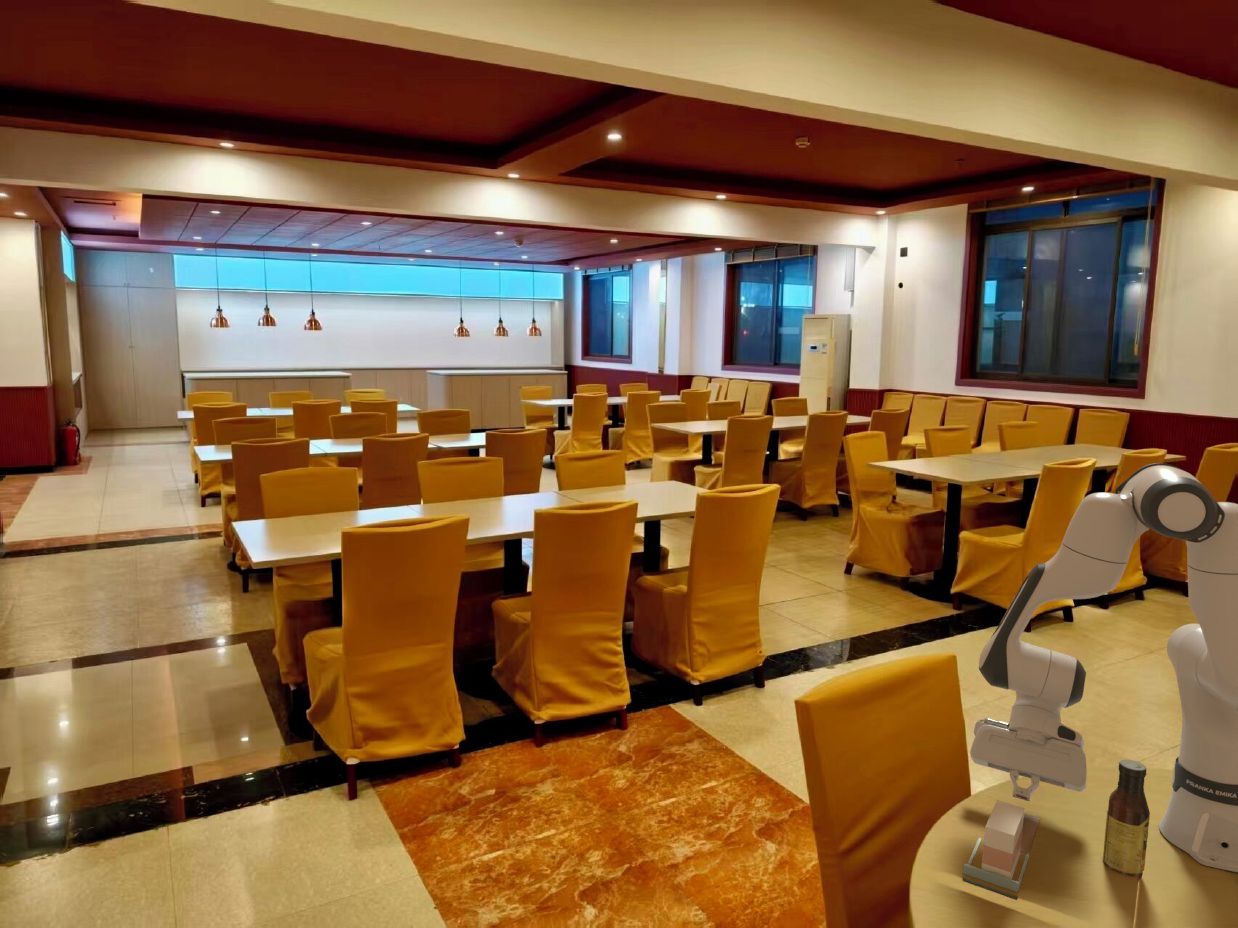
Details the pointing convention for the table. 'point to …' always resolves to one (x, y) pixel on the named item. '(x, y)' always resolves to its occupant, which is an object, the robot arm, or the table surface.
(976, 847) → the tray
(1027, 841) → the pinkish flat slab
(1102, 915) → the table surface
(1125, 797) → the sauce bottle
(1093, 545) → the robot arm
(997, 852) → the tile stack
